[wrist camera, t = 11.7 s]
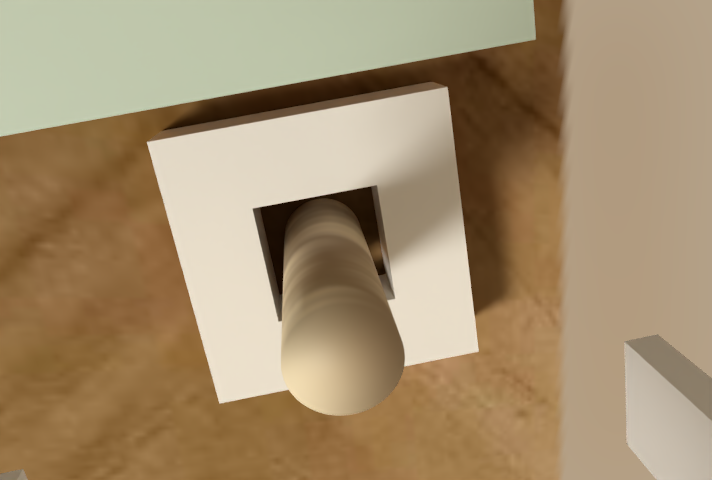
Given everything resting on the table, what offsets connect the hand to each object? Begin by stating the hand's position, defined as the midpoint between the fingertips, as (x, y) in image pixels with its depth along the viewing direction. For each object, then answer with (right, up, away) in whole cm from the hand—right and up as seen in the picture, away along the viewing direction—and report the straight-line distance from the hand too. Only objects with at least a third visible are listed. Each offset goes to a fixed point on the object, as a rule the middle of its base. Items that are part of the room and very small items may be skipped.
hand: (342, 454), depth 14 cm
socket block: (-1, +5, +16) cm, 17 cm away
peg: (-1, +5, +16) cm, 17 cm away
